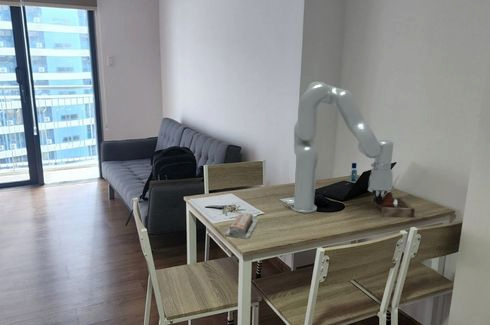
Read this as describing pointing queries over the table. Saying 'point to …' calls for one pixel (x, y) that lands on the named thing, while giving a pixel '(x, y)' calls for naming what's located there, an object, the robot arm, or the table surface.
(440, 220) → the table surface
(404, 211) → the walnut bay
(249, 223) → the packaged product
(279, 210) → the table surface
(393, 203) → the poop emoji
